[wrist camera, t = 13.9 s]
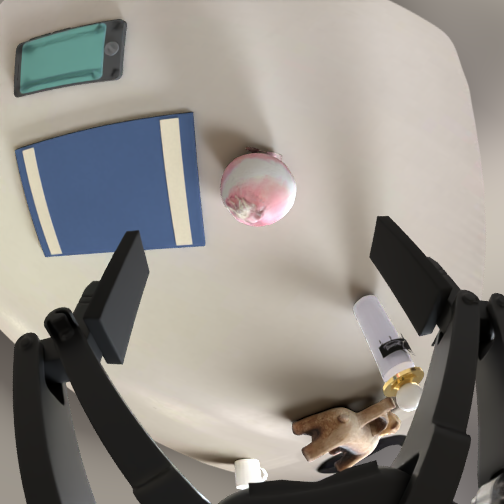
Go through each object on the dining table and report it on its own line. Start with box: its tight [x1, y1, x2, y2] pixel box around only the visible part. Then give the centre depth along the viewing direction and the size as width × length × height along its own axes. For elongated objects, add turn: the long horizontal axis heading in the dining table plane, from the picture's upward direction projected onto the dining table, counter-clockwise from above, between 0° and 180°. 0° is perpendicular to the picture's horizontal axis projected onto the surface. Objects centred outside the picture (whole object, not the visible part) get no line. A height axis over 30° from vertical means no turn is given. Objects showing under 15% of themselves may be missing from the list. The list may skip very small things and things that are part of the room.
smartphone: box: [14, 19, 127, 97], centre depth 22 cm, size 7×1×15 cm
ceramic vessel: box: [292, 397, 401, 472], centre depth 63 cm, size 13×31×25 cm
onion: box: [220, 147, 297, 226], centre depth 30 cm, size 8×8×7 cm
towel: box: [15, 112, 205, 257], centre depth 32 cm, size 24×16×1 cm, turn 92°
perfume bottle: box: [353, 295, 424, 411], centre depth 36 cm, size 6×6×20 cm
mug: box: [234, 459, 268, 489], centre depth 76 cm, size 8×12×10 cm, turn 131°
